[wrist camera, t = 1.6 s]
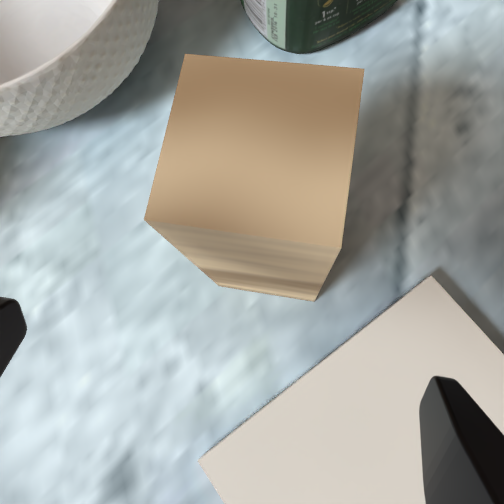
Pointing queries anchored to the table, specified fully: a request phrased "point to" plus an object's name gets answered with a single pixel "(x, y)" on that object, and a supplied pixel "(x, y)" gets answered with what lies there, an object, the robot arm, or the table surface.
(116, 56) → the cereal bowl
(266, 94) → the beech block
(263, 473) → the plate
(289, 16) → the coffee jar
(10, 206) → the table surface
